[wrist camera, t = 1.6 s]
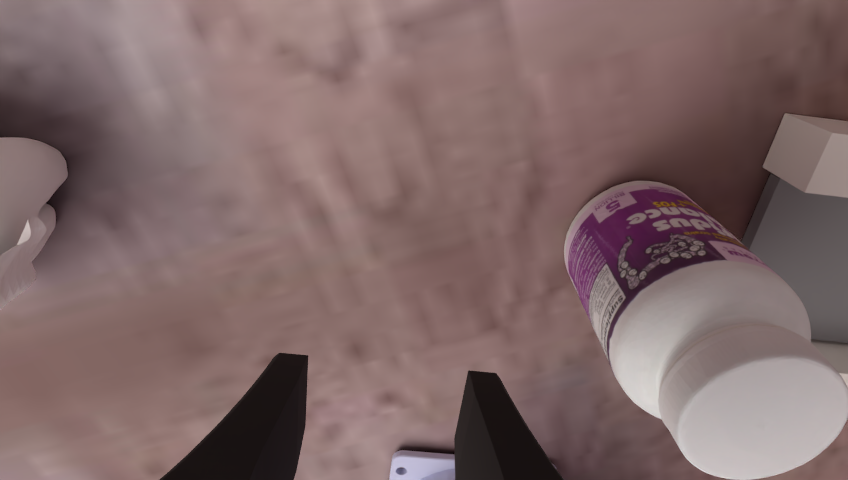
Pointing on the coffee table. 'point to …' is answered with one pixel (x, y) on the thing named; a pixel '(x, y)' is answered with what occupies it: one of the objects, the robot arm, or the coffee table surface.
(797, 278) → the cradle
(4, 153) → the elephant figurine
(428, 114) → the coffee table surface
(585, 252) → the pill bottle
